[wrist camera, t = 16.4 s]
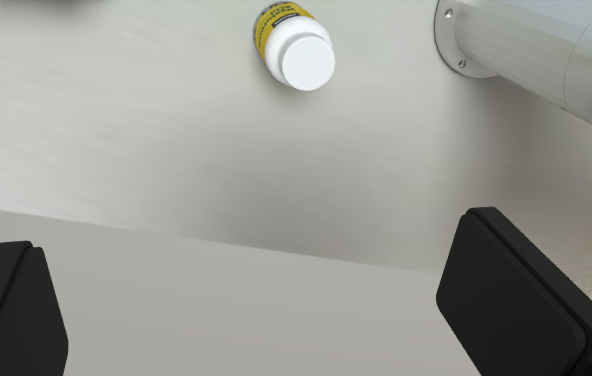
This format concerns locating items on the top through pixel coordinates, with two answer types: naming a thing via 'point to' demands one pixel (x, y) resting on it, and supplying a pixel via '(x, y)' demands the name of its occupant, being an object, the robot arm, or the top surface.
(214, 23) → the top surface
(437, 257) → the top surface
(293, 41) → the supplement bottle
